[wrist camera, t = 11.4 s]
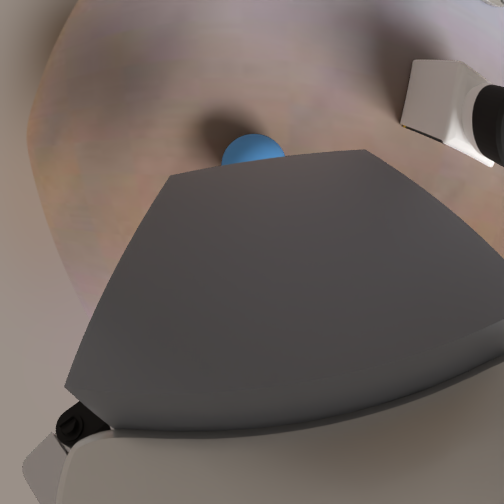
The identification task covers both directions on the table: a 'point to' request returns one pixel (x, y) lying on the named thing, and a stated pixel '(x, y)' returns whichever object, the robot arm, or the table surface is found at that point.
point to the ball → (251, 149)
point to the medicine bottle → (456, 109)
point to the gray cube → (287, 298)
